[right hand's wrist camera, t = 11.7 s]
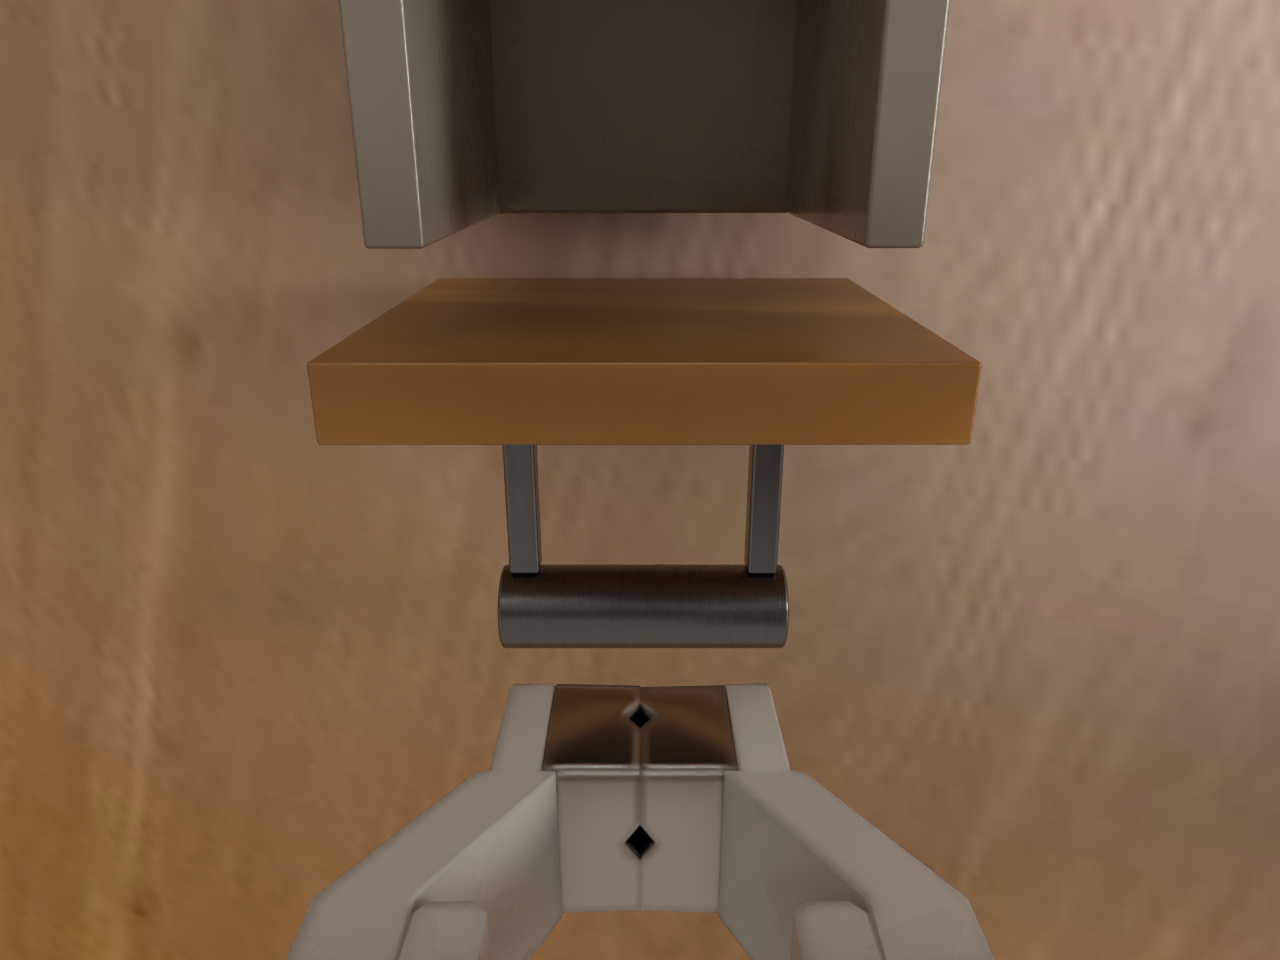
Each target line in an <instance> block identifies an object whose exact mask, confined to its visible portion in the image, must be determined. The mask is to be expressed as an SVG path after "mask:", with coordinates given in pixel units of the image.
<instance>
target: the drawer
mask: <svg viewBox="0 0 1280 960" xmlns="http://www.w3.org/2000/svg"><path fill="white" fill-rule="evenodd" d="M949 3H950V0H339V7H340V17H341V26H342V35H343V45H344V54H345V64H346V73H347V83H348V92H349V101H350V111H351V120H352V130H353V139H354V149H355V158H356V167H357V177H358V186H359V196H360V205H361V215H362V224H363V234H364V243H365V246H366V247H367V248H423V247H425V246H427V245H429V244H432V243H434V242H436V241H438V240H440V239H443V238H445V237H447V236H449V235H451V234H454V233H456V232H458V231H460V230H462V229H465V228H467V227H469V226H471V225H474V224H476V223H478V222H480V221H482V220H485V219H487V218H489V217H491V216H493V215H496V214H498V213H790V214H792V215H794V216H796V217H799V218H801V219H803V220H806V221H808V222H810V223H812V224H815V225H817V226H819V227H822V228H824V229H826V230H828V231H831V232H833V233H835V234H838V235H840V236H842V237H844V238H847V239H849V240H851V241H854V242H856V243H858V244H861V245H863V246H865V247H867V248H919V247H922V245H923V243H924V235H925V225H926V216H927V207H928V198H929V188H930V179H931V170H932V160H933V151H934V142H935V133H936V123H937V114H938V105H939V95H940V86H941V77H942V68H943V58H944V49H945V40H946V30H947V21H948V12H949ZM307 368H308V376H309V383H310V391H311V398H312V406H313V413H314V421H315V428H316V436H317V442H318V444H320V445H503V461H504V479H505V496H506V513H507V531H508V548H509V565H505V566H504V568H503V570H502V573H501V577H500V584H499V594H498V628H499V637H500V641H501V644H502V646H503V647H505V648H782V647H784V645H785V642H786V639H787V633H788V619H789V604H788V589H787V581H786V576H785V572H784V569H783V567H782V566H781V565H777V556H778V539H779V522H780V505H781V488H782V471H783V454H784V445H967V444H970V443H971V438H972V431H973V423H974V416H975V409H976V401H977V394H978V387H979V379H980V372H981V362H979V361H978V360H976V359H974V358H973V357H971V356H970V355H968V354H967V353H965V352H963V351H962V350H960V349H959V348H957V347H955V346H954V345H952V344H951V343H949V342H947V341H946V340H944V339H943V338H941V337H940V336H938V335H936V334H935V333H933V332H932V331H930V330H928V329H927V328H925V327H924V326H922V325H920V324H919V323H917V322H916V321H914V320H913V319H911V318H909V317H908V316H906V315H905V314H903V313H901V312H900V311H898V310H897V309H895V308H893V307H892V306H890V305H889V304H887V303H886V302H884V301H882V300H881V299H879V298H878V297H876V296H874V295H873V294H871V293H870V292H868V291H866V290H865V289H863V288H862V287H860V286H858V285H857V284H855V283H854V282H852V281H851V280H849V279H437V280H436V281H434V282H433V283H431V284H430V285H428V286H426V287H425V288H423V289H422V290H420V291H419V292H417V293H416V294H414V295H412V296H411V297H409V298H408V299H406V300H405V301H403V302H402V303H400V304H398V305H397V306H395V307H394V308H392V309H391V310H389V311H388V312H386V313H384V314H383V315H381V316H380V317H378V318H377V319H375V320H374V321H372V322H370V323H369V324H367V325H366V326H364V327H363V328H361V329H360V330H358V331H356V332H355V333H353V334H352V335H350V336H349V337H347V338H346V339H344V340H342V341H341V342H339V343H338V344H336V345H335V346H333V347H332V348H330V349H328V350H327V351H325V352H324V353H322V354H321V355H319V356H318V357H316V358H314V359H313V360H311V361H310V362H308V364H307ZM537 445H750V448H749V471H748V493H747V516H746V538H745V560H744V561H745V565H541V562H542V555H541V532H540V509H539V486H538V463H537Z"/></svg>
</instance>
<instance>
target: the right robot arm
mask: <svg viewBox="0 0 1280 960" xmlns="http://www.w3.org/2000/svg"><path fill="white" fill-rule="evenodd" d="M633 910H645V911H680V912H716V913H719V917H720V919H721V920H722V921H723V923H724V924H725V925H726V927H727V928H728V929H729V931H730V932H731V933H732V935H733V936H734V937H735V939H736V940H737V941H738V943H739V944H740V945H741V947H742V948H743V949H744V951H745V952H746V953H747V955H748V956H749V957H750V959H751V960H994V957H993V955H992V953H991V951H990V948H989V946H988V944H987V941H986V939H985V937H984V934H983V932H982V930H981V928H980V925H979V923H978V921H977V918H976V916H975V914H974V912H973V909H972V907H971V905H970V902H969V900H968V899H967V898H966V897H965V896H964V895H962V894H961V893H960V892H958V891H957V890H956V889H955V888H953V887H952V886H951V885H949V884H948V883H947V882H946V881H944V880H943V879H942V878H940V877H939V876H938V875H936V874H935V873H934V872H933V871H931V870H930V869H929V868H927V867H926V866H925V865H924V864H922V863H921V862H920V861H918V860H917V859H916V858H915V857H913V856H912V855H911V854H909V853H908V852H907V851H906V850H904V849H903V848H902V847H900V846H899V845H898V844H896V843H895V842H894V841H893V840H891V839H890V838H889V837H887V836H886V835H885V834H884V833H882V832H881V831H880V830H878V829H877V828H876V827H875V826H873V825H872V824H871V823H869V822H868V821H867V820H866V819H864V818H863V817H862V816H860V815H859V814H858V813H856V812H855V811H854V810H853V809H851V808H850V807H849V806H847V805H846V804H845V803H844V802H842V801H841V800H840V799H838V798H837V797H836V796H835V795H833V794H832V793H831V792H829V791H828V790H827V789H826V788H824V787H823V786H822V785H820V784H819V783H818V782H816V781H815V780H814V779H813V778H811V777H810V776H809V775H807V774H806V773H805V772H803V771H790V767H789V762H788V758H787V754H786V750H785V746H784V742H783V738H782V734H781V730H780V726H779V722H778V718H777V714H776V710H775V706H774V702H773V698H772V694H771V690H770V687H769V686H768V685H767V684H766V683H759V684H732V685H713V686H669V687H640V686H624V685H575V684H557V685H556V686H555V685H554V684H514V685H513V686H512V687H511V688H510V690H509V693H508V697H507V701H506V705H505V709H504V713H503V717H502V722H501V726H500V730H499V734H498V738H497V742H496V746H495V750H494V754H493V758H492V762H491V766H490V771H477V772H475V773H474V774H473V775H471V776H470V777H469V778H467V779H466V780H465V781H464V782H462V783H461V784H460V785H458V786H457V787H456V788H454V789H453V790H452V791H451V792H449V793H448V794H447V795H445V796H444V797H443V798H441V799H440V800H439V801H438V802H436V803H435V804H434V805H432V806H431V807H430V808H429V809H427V810H426V811H425V812H423V813H422V814H421V815H419V816H418V817H417V818H416V819H414V820H413V821H412V822H410V823H409V824H408V825H406V826H405V827H404V828H403V829H401V830H400V831H399V832H397V833H396V834H395V835H394V836H392V837H391V838H390V839H388V840H387V841H386V842H384V843H383V844H382V845H381V846H379V847H378V848H377V849H375V850H374V851H373V852H371V853H370V854H369V855H368V856H366V857H365V858H364V859H362V860H361V861H360V862H359V863H357V864H356V865H355V866H353V867H352V868H351V869H349V870H348V871H347V872H346V873H344V874H343V875H342V876H340V877H339V878H338V879H336V880H335V881H334V882H333V883H331V884H330V885H329V886H327V887H326V888H325V889H324V890H322V891H321V892H320V893H318V894H317V895H316V896H314V897H313V899H312V901H311V904H310V906H309V908H308V910H307V913H306V915H305V917H304V919H303V922H302V924H301V926H300V928H299V931H298V933H297V935H296V937H295V940H294V942H293V944H292V946H291V949H290V951H289V953H288V955H287V958H286V960H530V958H531V957H532V956H533V954H534V953H535V952H536V950H537V949H538V948H539V946H540V945H541V944H542V942H543V941H544V940H545V938H546V937H547V936H548V934H549V933H550V932H551V930H552V929H553V928H554V926H555V925H556V924H557V922H558V921H559V920H560V918H561V913H564V912H598V911H633Z"/></svg>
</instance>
